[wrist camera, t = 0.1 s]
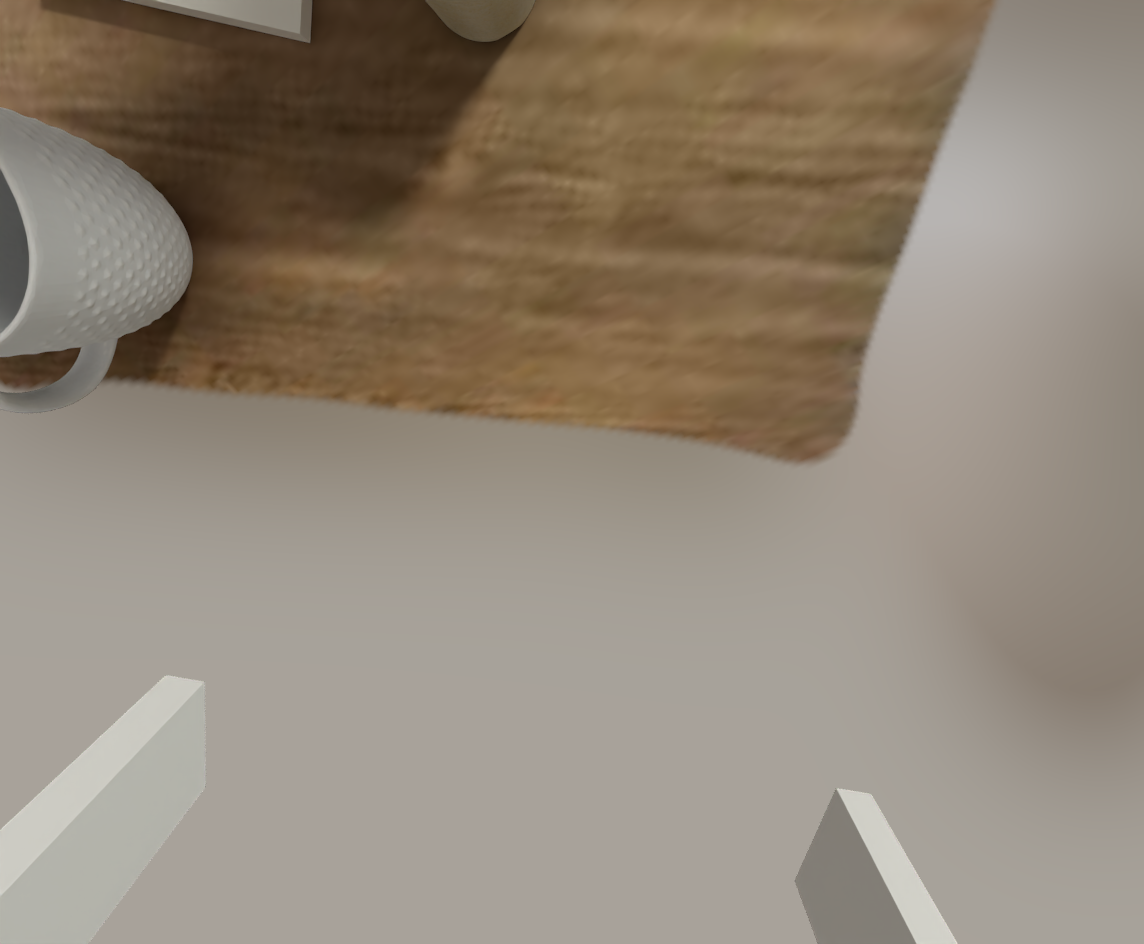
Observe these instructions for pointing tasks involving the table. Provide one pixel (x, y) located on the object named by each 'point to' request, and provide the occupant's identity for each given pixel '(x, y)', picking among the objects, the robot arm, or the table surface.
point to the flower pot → (482, 17)
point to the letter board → (247, 14)
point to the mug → (78, 255)
